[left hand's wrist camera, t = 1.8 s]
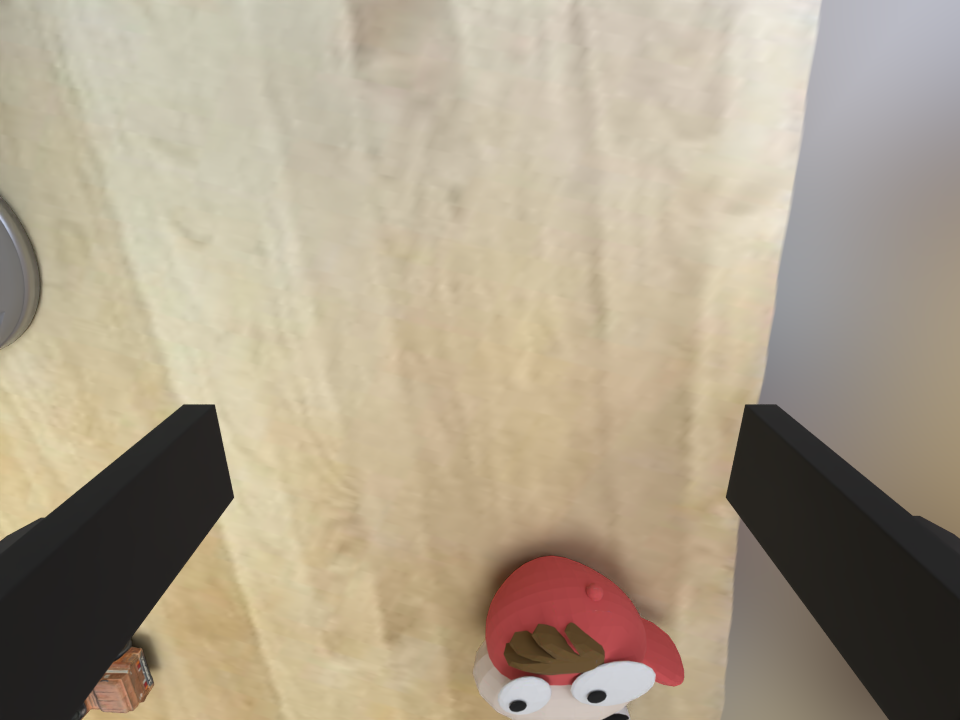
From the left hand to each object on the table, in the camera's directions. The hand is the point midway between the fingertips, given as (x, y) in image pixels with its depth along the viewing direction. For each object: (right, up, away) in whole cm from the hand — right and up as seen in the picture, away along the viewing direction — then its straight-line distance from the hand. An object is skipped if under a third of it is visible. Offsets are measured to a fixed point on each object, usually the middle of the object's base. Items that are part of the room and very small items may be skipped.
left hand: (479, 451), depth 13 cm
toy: (+9, -27, +37) cm, 47 cm away
